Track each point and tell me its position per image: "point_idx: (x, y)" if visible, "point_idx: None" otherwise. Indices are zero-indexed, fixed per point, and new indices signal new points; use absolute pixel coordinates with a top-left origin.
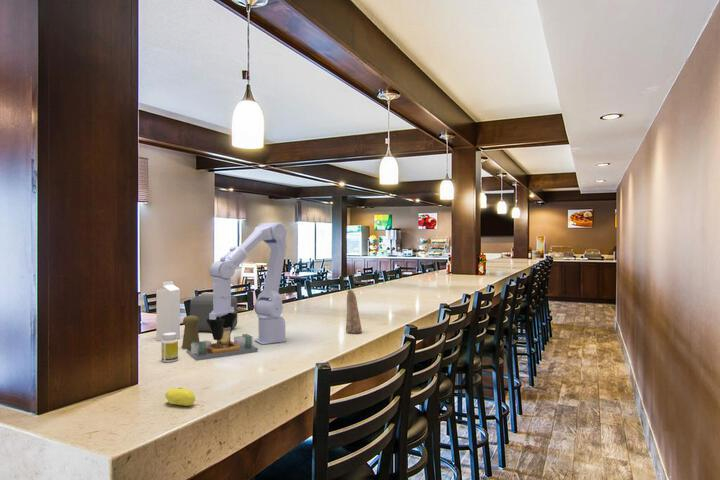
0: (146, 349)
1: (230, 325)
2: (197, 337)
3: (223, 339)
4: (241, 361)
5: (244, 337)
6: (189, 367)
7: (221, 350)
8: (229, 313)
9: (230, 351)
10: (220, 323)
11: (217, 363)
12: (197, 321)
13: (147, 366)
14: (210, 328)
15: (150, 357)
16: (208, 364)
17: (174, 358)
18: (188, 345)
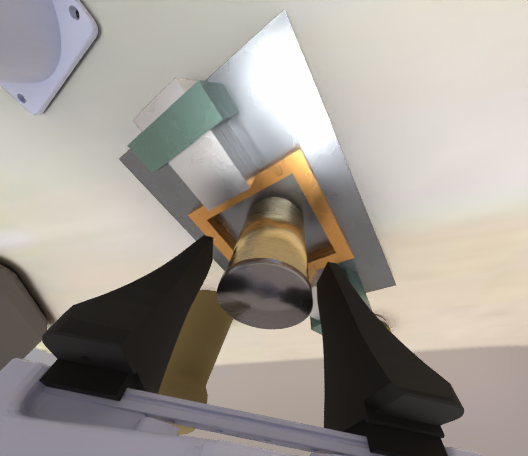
0: (242, 362)
1: (185, 275)
2: (203, 322)
3: (305, 249)
4: (522, 81)
5: (214, 142)
6: (488, 278)
7: (339, 224)
8: (122, 386)
9: (345, 183)
10: (430, 371)
11: (485, 202)
12: (176, 391)
13: (409, 349)
14: (22, 301)
15: (317, 352)
16: (480, 232)
17: (385, 325)
18: (231, 317)
